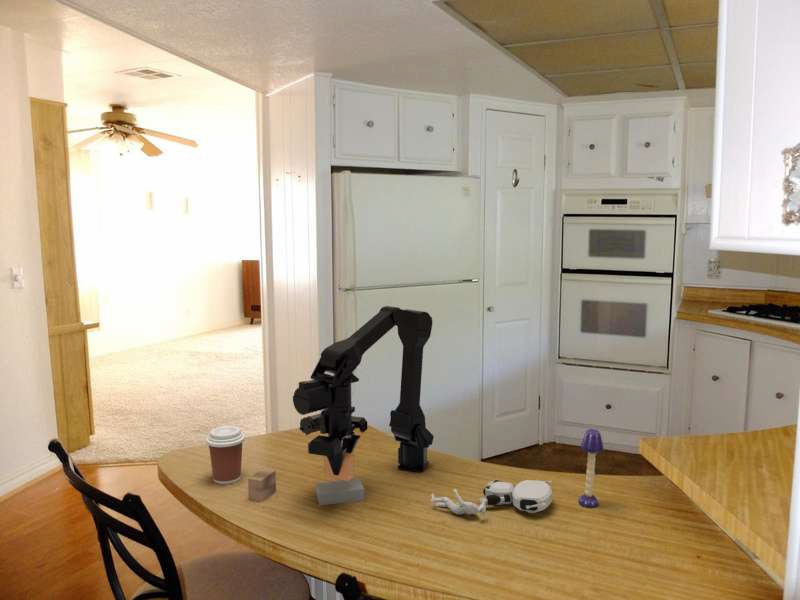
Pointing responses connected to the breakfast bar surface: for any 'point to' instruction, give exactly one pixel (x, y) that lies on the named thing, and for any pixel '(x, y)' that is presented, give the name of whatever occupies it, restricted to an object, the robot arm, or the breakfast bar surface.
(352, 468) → the orange brick
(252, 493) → the walnut brick
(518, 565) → the breakfast bar surface
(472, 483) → the breakfast bar surface
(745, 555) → the breakfast bar surface
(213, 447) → the coffee cup
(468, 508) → the white plastic figure
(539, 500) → the robot toy
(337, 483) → the grey brick
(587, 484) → the toy lamp
